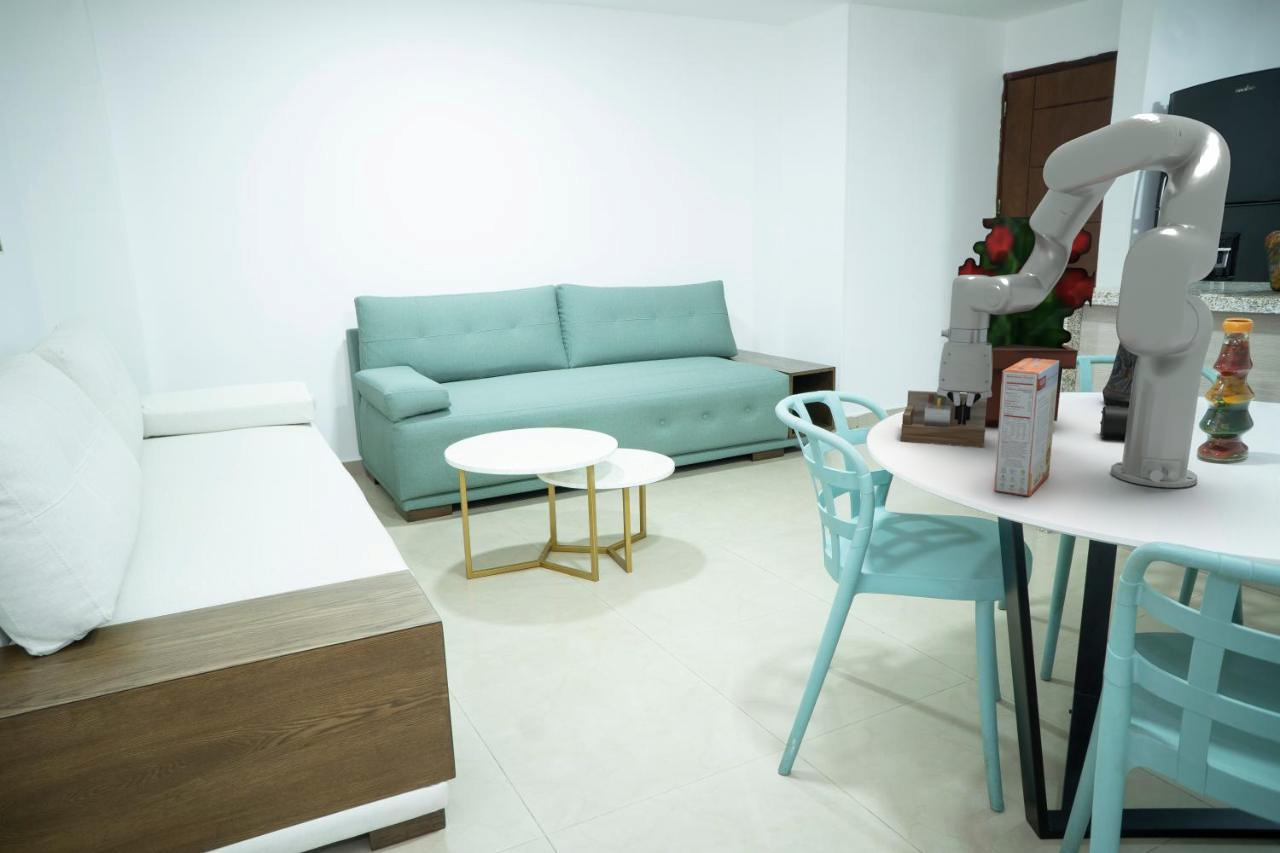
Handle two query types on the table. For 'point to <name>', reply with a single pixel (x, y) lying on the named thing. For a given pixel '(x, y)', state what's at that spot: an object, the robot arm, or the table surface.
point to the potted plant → (1044, 323)
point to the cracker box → (1026, 425)
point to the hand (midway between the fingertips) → (961, 423)
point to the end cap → (1114, 422)
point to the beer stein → (1120, 379)
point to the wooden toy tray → (942, 435)
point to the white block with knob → (937, 415)
